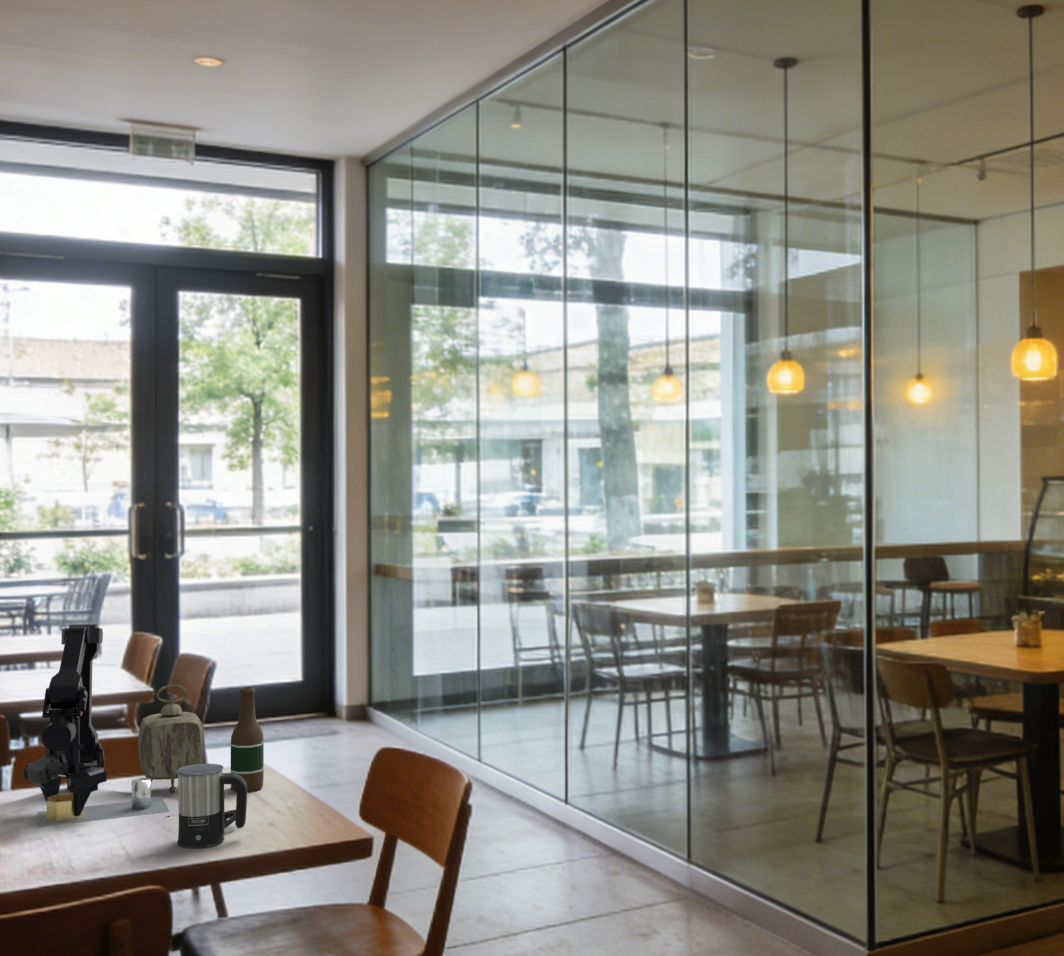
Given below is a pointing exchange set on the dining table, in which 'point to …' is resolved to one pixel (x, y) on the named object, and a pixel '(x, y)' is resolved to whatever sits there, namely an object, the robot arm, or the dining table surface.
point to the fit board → (117, 806)
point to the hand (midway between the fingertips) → (64, 813)
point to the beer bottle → (248, 744)
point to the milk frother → (207, 804)
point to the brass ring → (61, 807)
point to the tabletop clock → (170, 741)
